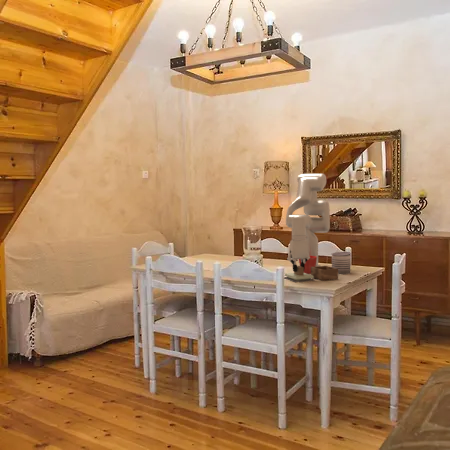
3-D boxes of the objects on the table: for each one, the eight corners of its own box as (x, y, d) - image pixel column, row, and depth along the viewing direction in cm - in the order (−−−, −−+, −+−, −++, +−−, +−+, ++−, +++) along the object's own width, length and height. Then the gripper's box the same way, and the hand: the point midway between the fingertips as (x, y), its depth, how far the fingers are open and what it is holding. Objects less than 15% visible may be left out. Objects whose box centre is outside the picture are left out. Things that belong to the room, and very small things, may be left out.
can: (353, 274, 302) (353, 253, 301) (334, 274, 301) (334, 254, 300) (347, 271, 313) (347, 251, 312) (329, 271, 313) (329, 251, 312)
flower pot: (295, 272, 311) (295, 256, 311) (311, 270, 315) (311, 255, 314) (303, 274, 301) (303, 258, 301) (320, 273, 305) (320, 257, 304)
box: (310, 277, 293) (310, 266, 293) (326, 276, 297) (326, 265, 296) (322, 281, 282) (322, 270, 281) (338, 279, 285) (338, 268, 285)
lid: (284, 277, 292) (284, 265, 291) (301, 275, 296) (301, 264, 295) (295, 281, 280) (295, 269, 279) (313, 279, 284) (313, 267, 283)
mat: (283, 278, 292) (283, 277, 292) (301, 276, 297) (301, 275, 297) (295, 282, 279) (295, 281, 279) (314, 280, 284) (314, 279, 284)
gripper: (308, 236, 293) (308, 269, 294) (281, 238, 287) (282, 271, 288) (315, 238, 286) (315, 271, 287) (288, 239, 280) (288, 273, 281)
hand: (298, 270), depth 288 cm, fingers open, 3 cm apart
